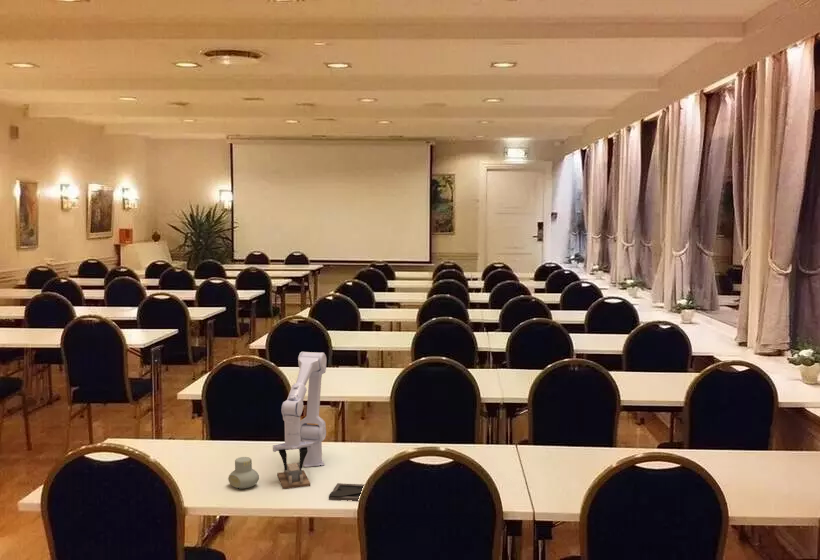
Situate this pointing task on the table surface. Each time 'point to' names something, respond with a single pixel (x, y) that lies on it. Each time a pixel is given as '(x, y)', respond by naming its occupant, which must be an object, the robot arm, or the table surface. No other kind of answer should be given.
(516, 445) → the table surface
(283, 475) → the pegged wooden board
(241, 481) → the air freshener
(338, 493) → the picture frame
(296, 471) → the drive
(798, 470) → the table surface
